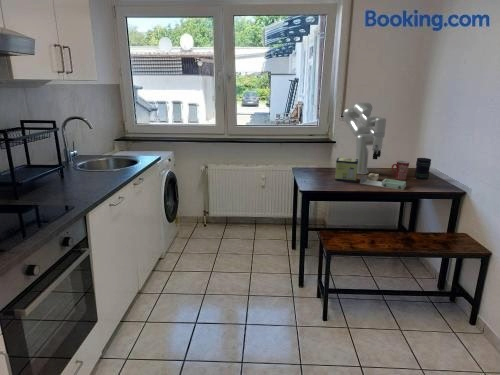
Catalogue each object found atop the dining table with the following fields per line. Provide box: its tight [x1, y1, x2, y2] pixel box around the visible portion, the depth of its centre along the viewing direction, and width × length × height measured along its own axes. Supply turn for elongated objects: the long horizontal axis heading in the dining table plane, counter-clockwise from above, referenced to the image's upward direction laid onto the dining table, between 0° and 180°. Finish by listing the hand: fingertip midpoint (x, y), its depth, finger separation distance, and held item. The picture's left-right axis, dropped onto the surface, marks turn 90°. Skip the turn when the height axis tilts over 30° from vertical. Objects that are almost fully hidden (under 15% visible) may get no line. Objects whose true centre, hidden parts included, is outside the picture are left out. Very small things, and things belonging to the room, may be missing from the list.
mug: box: [391, 160, 411, 181], centre depth 255 cm, size 13×9×14 cm
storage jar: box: [414, 157, 432, 181], centre depth 257 cm, size 10×10×15 cm
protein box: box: [334, 157, 358, 183], centre depth 254 cm, size 10×16×16 cm
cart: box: [381, 178, 407, 190], centre depth 238 cm, size 14×12×3 cm
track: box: [359, 174, 407, 191], centre depth 242 cm, size 30×12×4 cm, turn 56°
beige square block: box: [367, 172, 379, 181], centre depth 256 cm, size 6×6×4 cm
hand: (376, 157), depth 252 cm, fingers open, 9 cm apart
